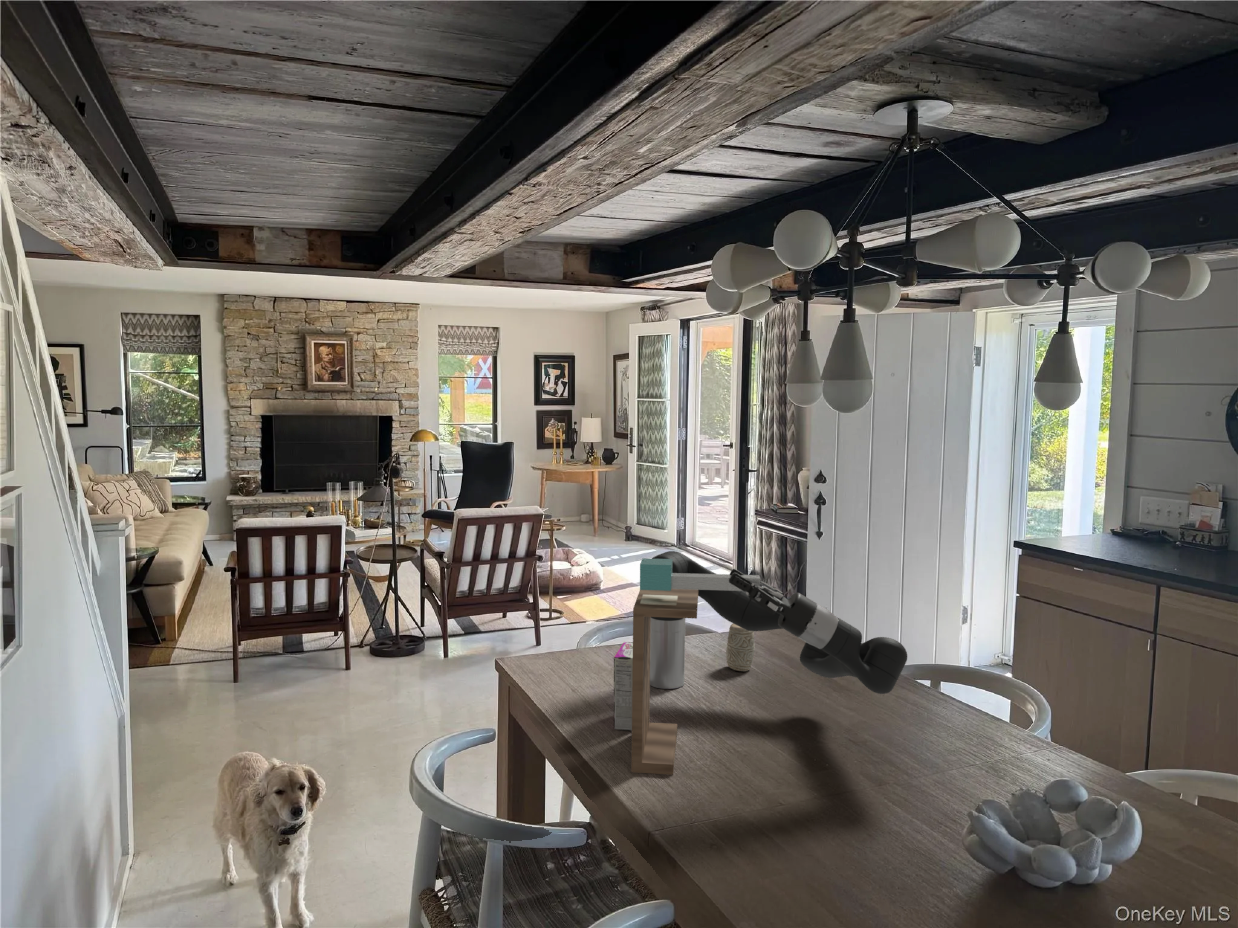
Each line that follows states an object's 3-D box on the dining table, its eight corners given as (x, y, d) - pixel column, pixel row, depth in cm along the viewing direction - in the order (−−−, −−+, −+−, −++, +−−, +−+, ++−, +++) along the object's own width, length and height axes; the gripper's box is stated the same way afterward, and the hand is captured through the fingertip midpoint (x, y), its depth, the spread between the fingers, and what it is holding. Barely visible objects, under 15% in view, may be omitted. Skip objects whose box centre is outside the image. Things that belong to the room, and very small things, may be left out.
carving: (750, 674, 216) (751, 629, 215) (722, 670, 220) (723, 625, 219) (757, 667, 222) (758, 623, 221) (730, 663, 225) (730, 620, 224)
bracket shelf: (640, 730, 179) (641, 583, 176) (695, 733, 177) (698, 585, 175) (631, 772, 159) (633, 607, 156) (694, 775, 158) (697, 609, 155)
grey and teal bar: (642, 582, 166) (642, 558, 166) (758, 586, 164) (758, 561, 163) (639, 589, 160) (640, 564, 160) (760, 593, 158) (760, 567, 157)
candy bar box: (622, 711, 190) (623, 641, 189) (643, 713, 189) (644, 642, 188) (612, 730, 179) (612, 655, 178) (634, 732, 178) (635, 657, 177)
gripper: (813, 595, 167) (739, 551, 168) (823, 613, 153) (742, 565, 154) (794, 627, 167) (720, 582, 168) (801, 647, 154) (721, 599, 154)
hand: (731, 574), depth 161 cm, fingers closed on grey and teal bar, 3 cm apart
